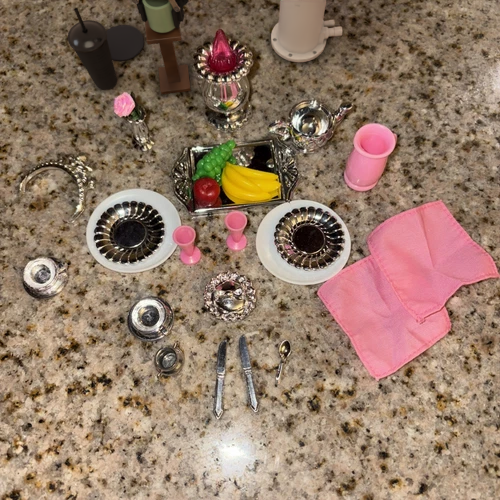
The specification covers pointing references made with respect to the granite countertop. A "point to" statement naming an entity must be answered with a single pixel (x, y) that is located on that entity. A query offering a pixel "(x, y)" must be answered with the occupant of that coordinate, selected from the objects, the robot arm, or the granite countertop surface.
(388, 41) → the granite countertop surface
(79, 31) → the drinking cup
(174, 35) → the stand
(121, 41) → the coaster
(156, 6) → the sage cup
